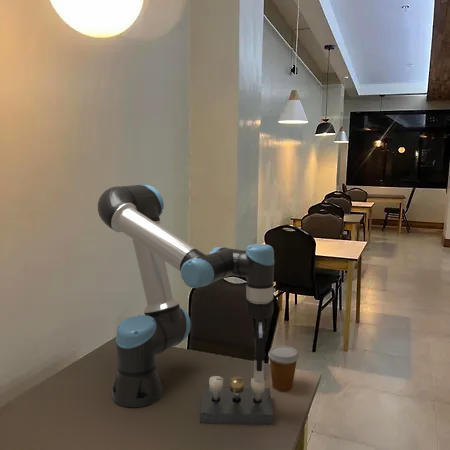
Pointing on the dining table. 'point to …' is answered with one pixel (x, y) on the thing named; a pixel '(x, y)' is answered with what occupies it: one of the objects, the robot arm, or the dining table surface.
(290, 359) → the disposable coffee cup
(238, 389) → the brass pot knob
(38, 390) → the dining table surface
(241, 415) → the mount panel
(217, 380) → the knob
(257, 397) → the knob
